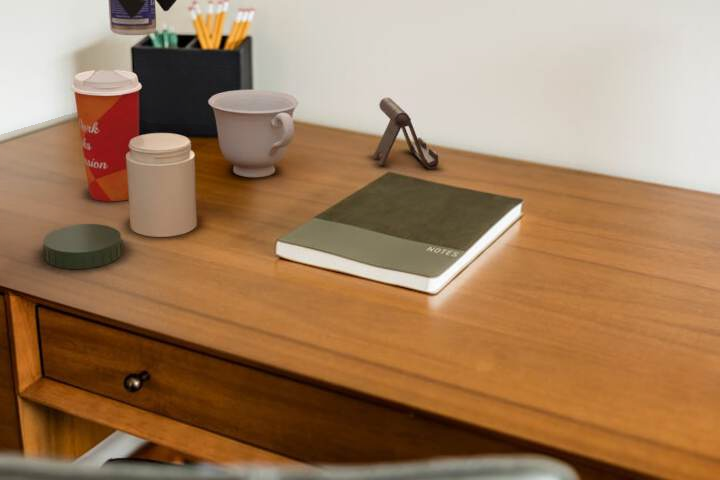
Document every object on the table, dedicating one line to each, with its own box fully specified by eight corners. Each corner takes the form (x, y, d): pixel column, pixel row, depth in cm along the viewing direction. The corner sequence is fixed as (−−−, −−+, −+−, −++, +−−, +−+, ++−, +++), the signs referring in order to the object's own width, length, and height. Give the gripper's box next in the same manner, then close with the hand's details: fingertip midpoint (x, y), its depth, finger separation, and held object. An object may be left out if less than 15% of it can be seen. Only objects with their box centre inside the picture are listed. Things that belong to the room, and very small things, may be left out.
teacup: (250, 197, 114) (249, 121, 110) (194, 166, 125) (191, 95, 121) (327, 181, 121) (329, 109, 117) (267, 153, 132) (267, 85, 128)
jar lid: (138, 252, 97) (137, 236, 96) (76, 276, 91) (74, 259, 90) (90, 233, 101) (89, 218, 101) (28, 255, 95) (26, 238, 95)
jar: (127, 238, 101) (121, 151, 97) (132, 213, 108) (127, 131, 104) (196, 236, 102) (193, 150, 98) (197, 212, 109) (194, 131, 105)
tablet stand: (438, 169, 128) (442, 112, 124) (384, 171, 126) (387, 113, 123) (420, 151, 135) (424, 96, 132) (369, 153, 134) (372, 97, 131)
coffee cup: (79, 185, 116) (69, 69, 110) (144, 180, 118) (137, 67, 113) (81, 207, 109) (71, 84, 103) (151, 202, 111) (144, 82, 105)
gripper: (84, -119, 122) (185, 17, 122) (-29, -120, 107) (87, 36, 106) (111, -161, 118) (217, -20, 117) (-2, -168, 102) (119, -6, 102)
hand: (155, 6), depth 112 cm, fingers closed on pill bottle, 6 cm apart
